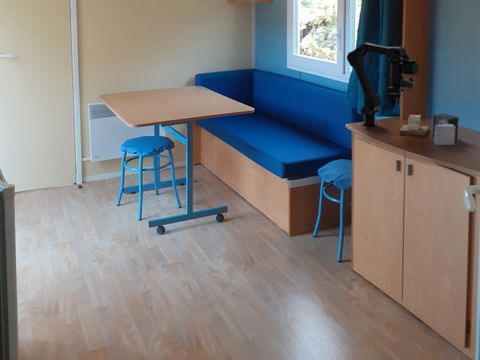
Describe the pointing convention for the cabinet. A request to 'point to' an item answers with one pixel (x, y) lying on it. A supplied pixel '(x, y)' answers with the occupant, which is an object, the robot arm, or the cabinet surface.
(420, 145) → the cabinet surface
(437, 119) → the small box
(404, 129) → the beige flat square slab
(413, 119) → the maple cube
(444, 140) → the medicine box
